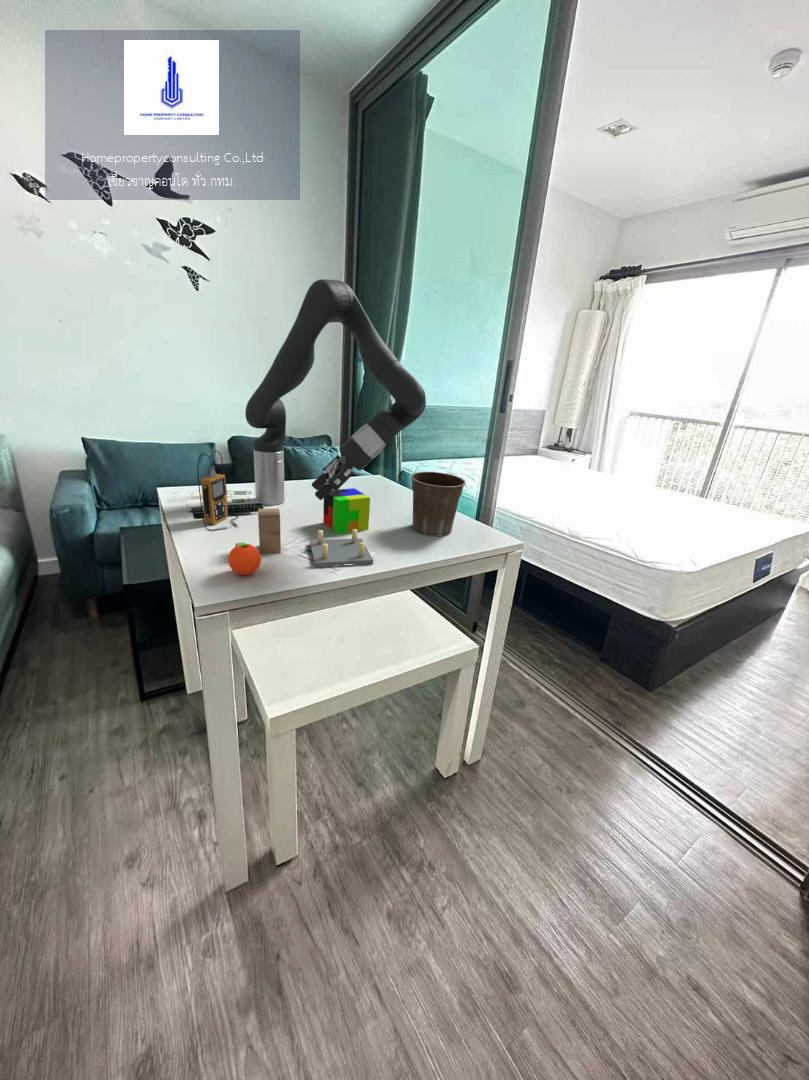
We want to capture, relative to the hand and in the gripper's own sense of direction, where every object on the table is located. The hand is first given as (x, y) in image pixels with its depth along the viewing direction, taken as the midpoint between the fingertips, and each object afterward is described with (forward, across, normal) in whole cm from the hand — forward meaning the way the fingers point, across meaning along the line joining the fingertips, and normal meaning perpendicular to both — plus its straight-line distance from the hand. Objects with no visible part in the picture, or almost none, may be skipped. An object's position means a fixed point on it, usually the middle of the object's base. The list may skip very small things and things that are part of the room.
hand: (315, 492), depth 109 cm
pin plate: (+7, +5, +15) cm, 17 cm away
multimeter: (+27, -20, -6) cm, 34 cm away
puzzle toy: (+3, -15, +18) cm, 24 cm away
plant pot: (-15, -11, +37) cm, 41 cm away
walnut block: (+19, 0, +2) cm, 19 cm away
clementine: (+23, +12, -1) cm, 26 cm away
